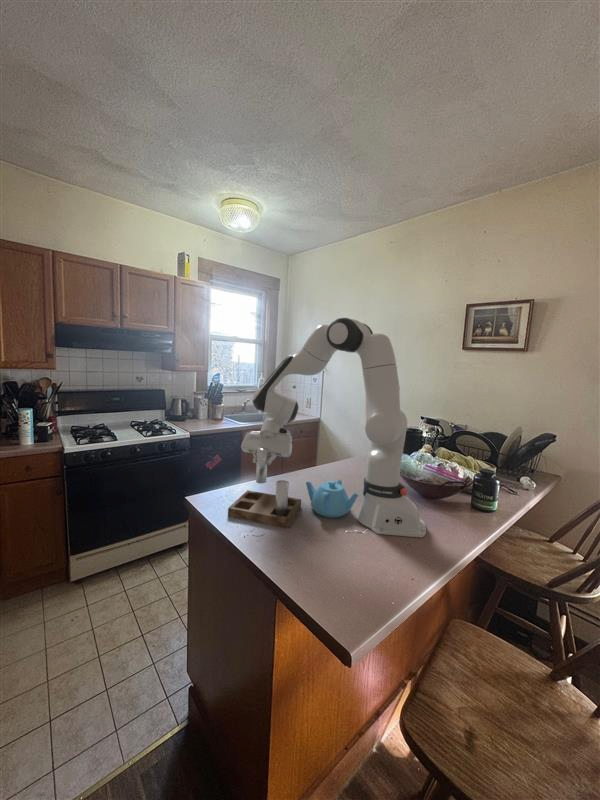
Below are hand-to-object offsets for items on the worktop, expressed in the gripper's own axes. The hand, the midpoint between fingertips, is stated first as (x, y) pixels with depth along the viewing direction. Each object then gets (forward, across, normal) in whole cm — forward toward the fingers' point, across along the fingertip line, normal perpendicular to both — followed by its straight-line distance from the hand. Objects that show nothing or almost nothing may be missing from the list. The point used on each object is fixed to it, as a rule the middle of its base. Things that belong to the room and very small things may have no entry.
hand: (261, 463), depth 123 cm
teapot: (+11, +28, +9) cm, 31 cm away
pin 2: (+20, +13, -1) cm, 24 cm away
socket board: (+17, +6, +1) cm, 19 cm away
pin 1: (+5, 0, +6) cm, 8 cm away
